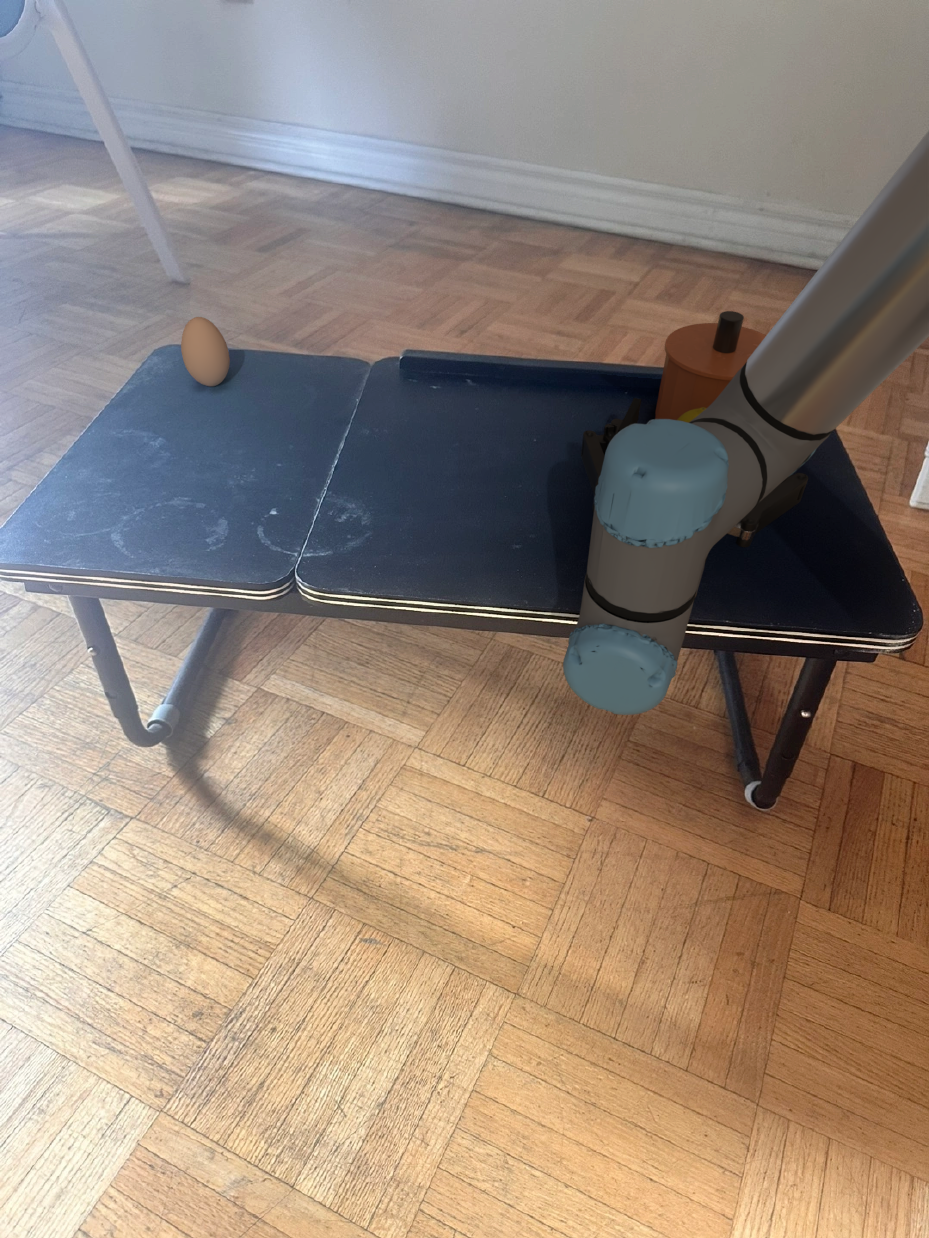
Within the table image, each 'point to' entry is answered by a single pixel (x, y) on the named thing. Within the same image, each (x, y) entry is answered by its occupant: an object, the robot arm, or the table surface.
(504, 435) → the table surface
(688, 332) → the pot lid
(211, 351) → the egg
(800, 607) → the table surface
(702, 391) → the pot
